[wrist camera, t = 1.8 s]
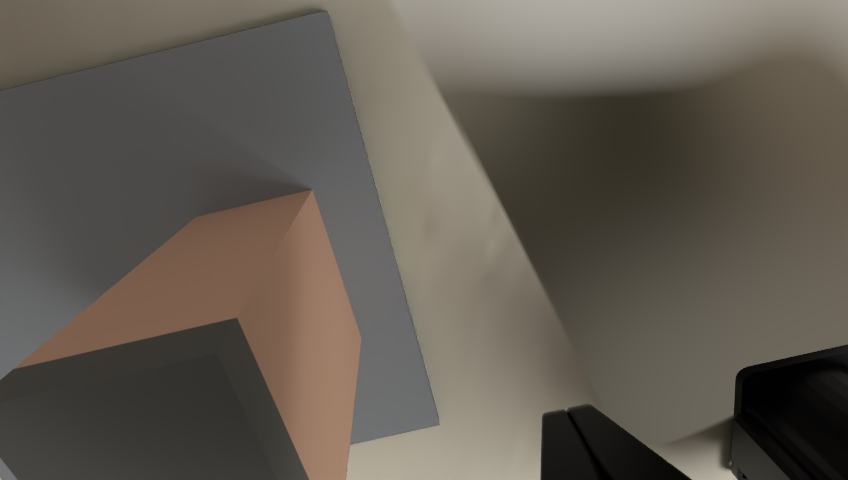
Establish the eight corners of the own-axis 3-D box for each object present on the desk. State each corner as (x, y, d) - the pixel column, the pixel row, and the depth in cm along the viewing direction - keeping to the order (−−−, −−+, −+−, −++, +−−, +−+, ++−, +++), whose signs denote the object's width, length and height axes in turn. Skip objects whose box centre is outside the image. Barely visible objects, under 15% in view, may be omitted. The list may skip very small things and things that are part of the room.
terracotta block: (312, 189, 15) (215, 352, 7) (361, 337, 18) (333, 595, 9) (196, 216, 15) (-37, 410, 7) (259, 361, 18) (140, 636, 9)
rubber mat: (327, 11, 14) (325, 10, 13) (438, 418, 20) (439, 424, 19) (-242, 151, 14) (-260, 154, 14) (38, 507, 20) (31, 515, 20)
